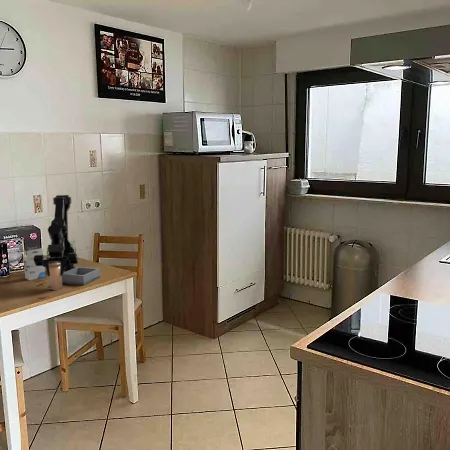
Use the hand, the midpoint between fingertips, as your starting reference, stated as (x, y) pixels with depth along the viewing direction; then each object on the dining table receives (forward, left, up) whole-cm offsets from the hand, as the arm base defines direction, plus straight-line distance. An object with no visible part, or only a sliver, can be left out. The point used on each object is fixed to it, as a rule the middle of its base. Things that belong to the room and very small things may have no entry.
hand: (54, 275), depth 204 cm
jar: (-1, +1, -7) cm, 7 cm away
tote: (+2, +15, -7) cm, 17 cm away
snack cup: (-32, +43, -7) cm, 54 cm away
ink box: (-23, +12, -7) cm, 27 cm away
